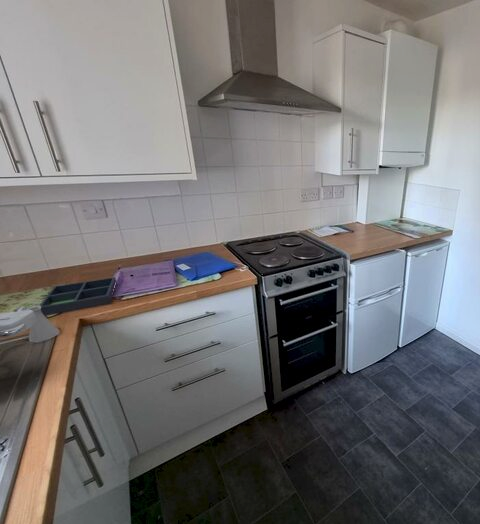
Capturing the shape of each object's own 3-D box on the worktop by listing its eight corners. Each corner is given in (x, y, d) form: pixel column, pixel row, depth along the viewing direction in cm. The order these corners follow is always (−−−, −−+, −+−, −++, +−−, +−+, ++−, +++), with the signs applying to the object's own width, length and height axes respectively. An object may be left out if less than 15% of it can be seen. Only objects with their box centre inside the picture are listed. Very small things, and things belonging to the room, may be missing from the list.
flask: (54, 327, 98) (43, 300, 94) (65, 333, 95) (54, 305, 91) (24, 339, 92) (11, 310, 88) (35, 346, 89) (22, 317, 85)
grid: (40, 317, 103) (37, 308, 102) (57, 294, 119) (54, 286, 118) (110, 304, 113) (108, 295, 111) (117, 284, 128) (115, 277, 127)
